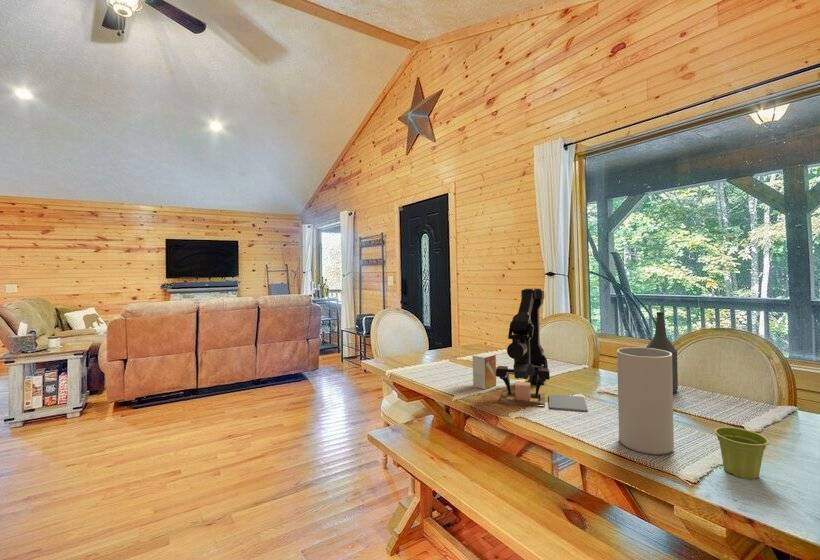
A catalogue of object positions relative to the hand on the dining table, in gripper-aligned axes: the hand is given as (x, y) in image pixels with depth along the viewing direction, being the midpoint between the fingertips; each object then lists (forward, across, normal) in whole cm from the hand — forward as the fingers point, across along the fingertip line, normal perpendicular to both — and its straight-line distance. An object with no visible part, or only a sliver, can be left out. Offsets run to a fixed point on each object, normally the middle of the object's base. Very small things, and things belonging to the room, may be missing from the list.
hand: (523, 395), depth 142 cm
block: (+2, 0, 0) cm, 2 cm away
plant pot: (+2, +50, -39) cm, 64 cm away
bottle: (+2, +50, +25) cm, 56 cm away
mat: (+2, +15, 0) cm, 15 cm away
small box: (+2, -16, +14) cm, 21 cm away
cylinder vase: (+2, +33, -29) cm, 44 cm away
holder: (+2, 0, 0) cm, 2 cm away
